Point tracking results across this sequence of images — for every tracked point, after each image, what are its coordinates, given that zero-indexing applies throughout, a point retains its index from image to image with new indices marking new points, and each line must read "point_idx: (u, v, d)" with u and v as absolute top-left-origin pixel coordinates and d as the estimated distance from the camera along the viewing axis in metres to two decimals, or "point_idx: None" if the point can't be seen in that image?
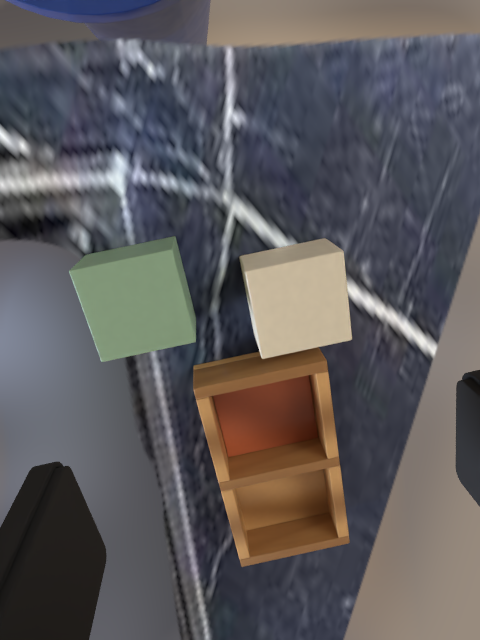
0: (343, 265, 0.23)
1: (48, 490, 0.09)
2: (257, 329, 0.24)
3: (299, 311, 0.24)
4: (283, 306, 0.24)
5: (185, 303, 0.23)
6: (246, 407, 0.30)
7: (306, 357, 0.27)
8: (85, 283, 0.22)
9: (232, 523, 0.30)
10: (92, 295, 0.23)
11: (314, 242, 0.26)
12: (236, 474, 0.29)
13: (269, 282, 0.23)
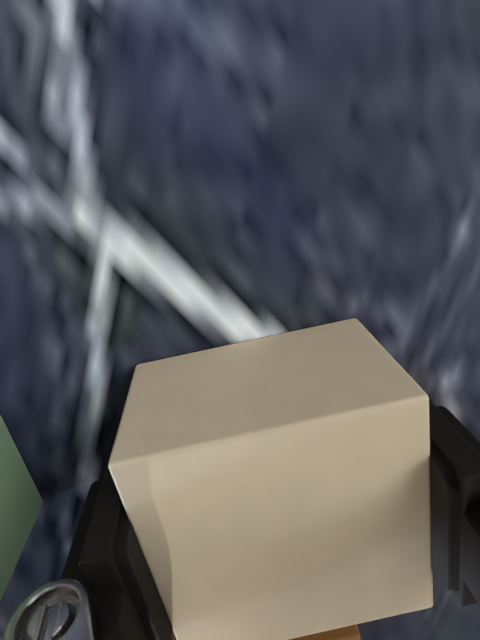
0: (426, 436, 0.07)
1: None
2: (165, 604, 0.08)
3: (287, 556, 0.08)
4: (237, 548, 0.08)
5: None
6: None
7: None
8: None
9: None
10: None
11: (329, 333, 0.10)
12: None
13: (190, 490, 0.07)
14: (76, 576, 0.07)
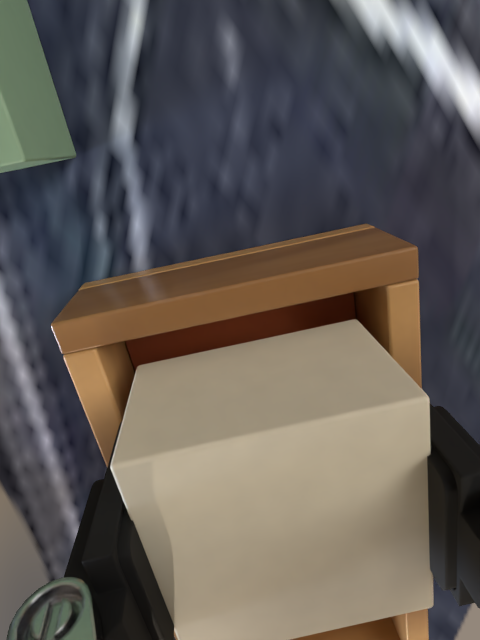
0: (426, 437, 0.07)
1: None
2: (166, 604, 0.08)
3: (288, 556, 0.08)
4: (238, 549, 0.08)
5: None
6: None
7: (358, 247, 0.10)
8: None
9: None
10: None
11: (329, 334, 0.10)
12: None
13: (191, 491, 0.07)
14: (79, 575, 0.07)
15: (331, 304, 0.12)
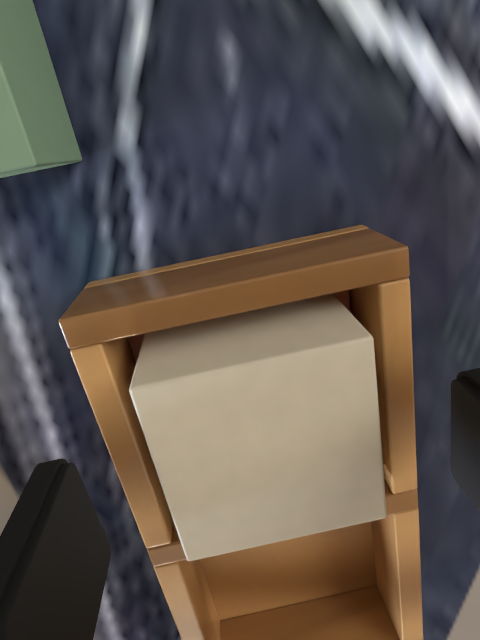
0: (372, 369, 0.10)
1: (54, 486, 0.09)
2: (171, 508, 0.11)
3: (267, 468, 0.10)
4: (228, 460, 0.10)
5: None
6: None
7: (352, 247, 0.11)
8: None
9: (183, 629, 0.14)
10: None
11: (304, 299, 0.12)
12: None
13: (191, 411, 0.10)
14: None
15: None
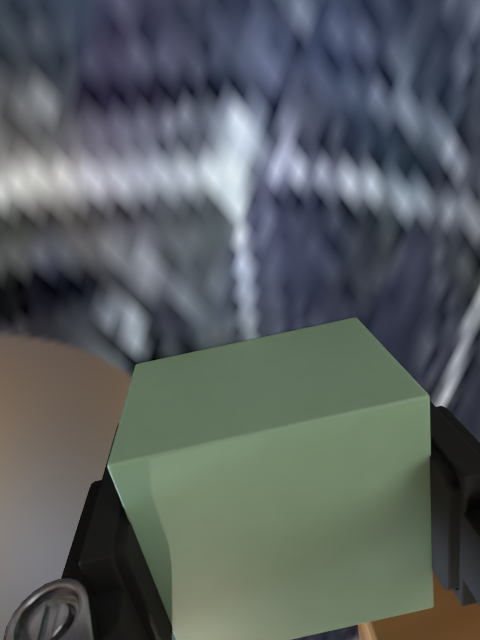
0: None
1: None
2: None
3: None
4: None
5: (430, 527, 0.08)
6: None
7: None
8: (156, 496, 0.07)
9: None
10: (175, 523, 0.08)
11: None
12: None
13: None
14: (76, 576, 0.07)
15: None
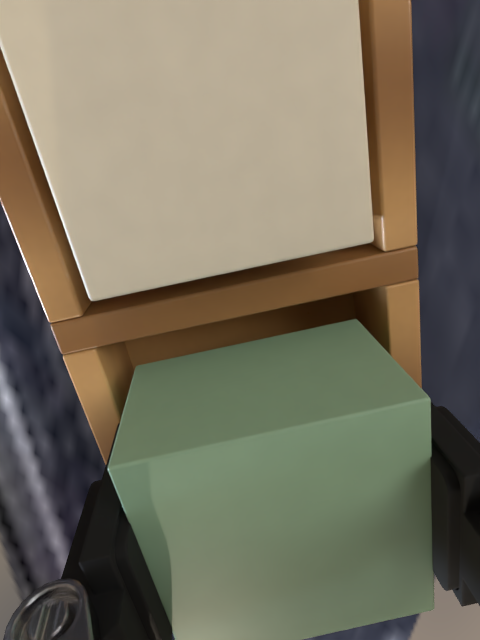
0: None
1: None
2: (56, 195, 0.07)
3: (195, 128, 0.07)
4: (134, 106, 0.07)
5: (430, 529, 0.08)
6: None
7: None
8: (156, 498, 0.07)
9: None
10: (175, 525, 0.08)
11: None
12: (109, 305, 0.10)
13: None
14: (76, 576, 0.07)
15: None
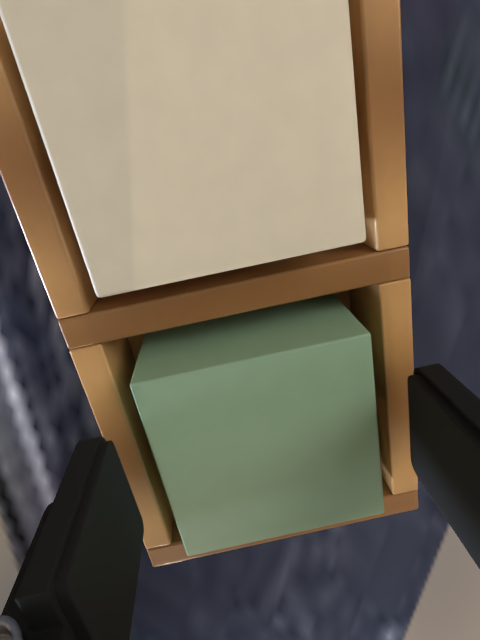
0: None
1: (97, 461, 0.09)
2: (65, 197, 0.08)
3: (197, 135, 0.07)
4: (140, 114, 0.07)
5: (377, 442, 0.11)
6: None
7: None
8: (166, 410, 0.10)
9: None
10: (180, 433, 0.10)
11: None
12: (114, 302, 0.10)
13: (77, 10, 0.07)
14: (18, 609, 0.07)
15: None
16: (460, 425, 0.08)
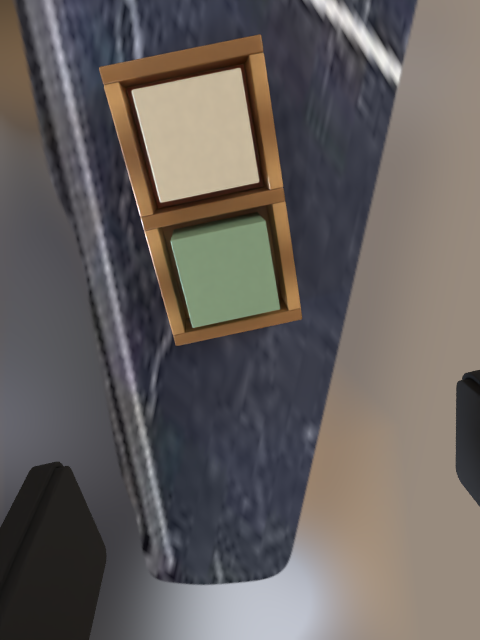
0: (241, 86, 0.21)
1: (48, 490, 0.09)
2: (151, 164, 0.22)
3: (197, 143, 0.22)
4: (178, 136, 0.22)
5: (273, 272, 0.25)
6: None
7: None
8: (184, 252, 0.24)
9: (160, 279, 0.26)
10: (190, 264, 0.25)
11: None
12: (162, 211, 0.25)
13: (159, 104, 0.21)
14: None
15: None
16: None
